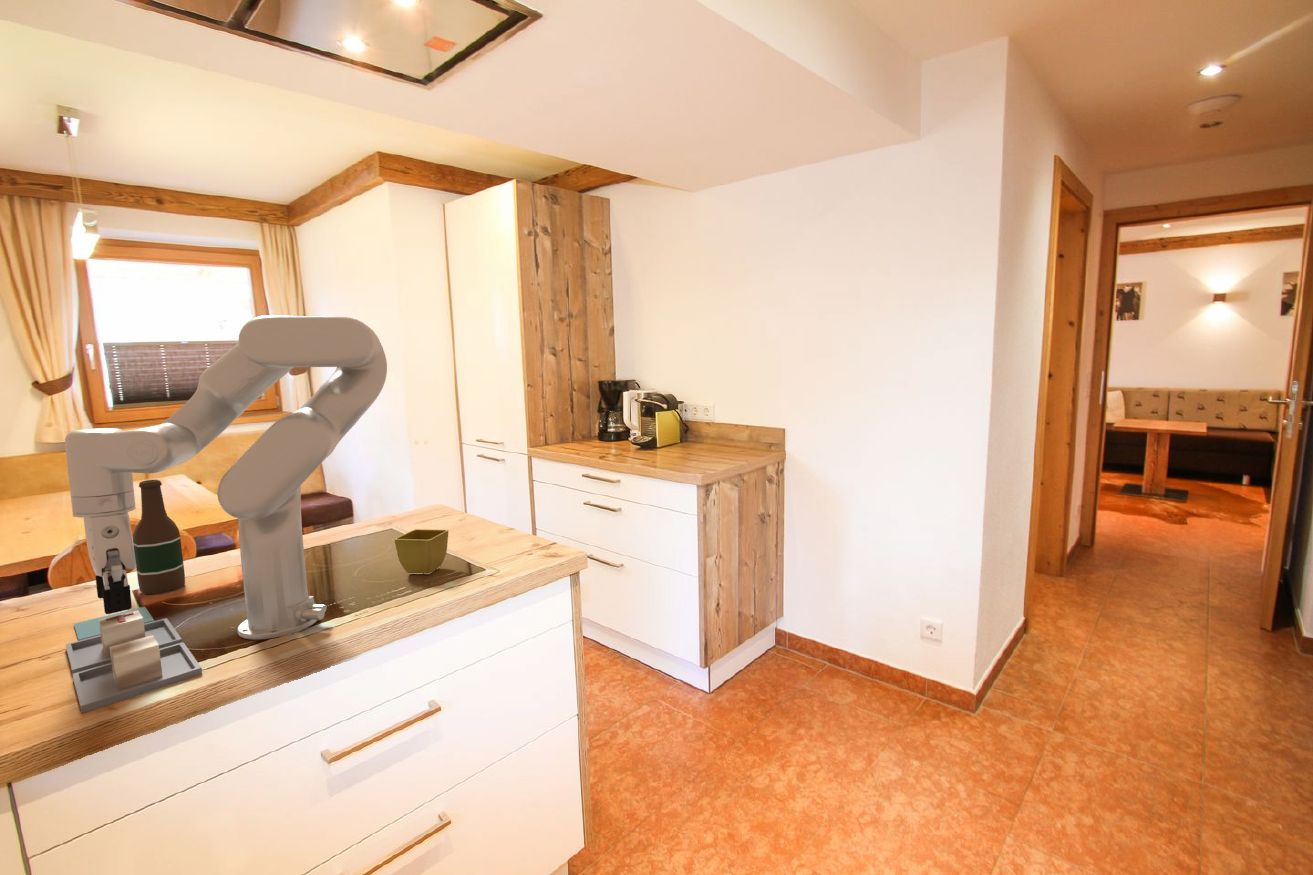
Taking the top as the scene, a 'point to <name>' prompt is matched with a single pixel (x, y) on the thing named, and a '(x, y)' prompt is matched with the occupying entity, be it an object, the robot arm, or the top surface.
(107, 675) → the dish near
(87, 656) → the dish far
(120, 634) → the letter cube
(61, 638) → the top surface
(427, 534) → the flower pot
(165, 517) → the beer bottle
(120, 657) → the plain cube
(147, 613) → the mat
